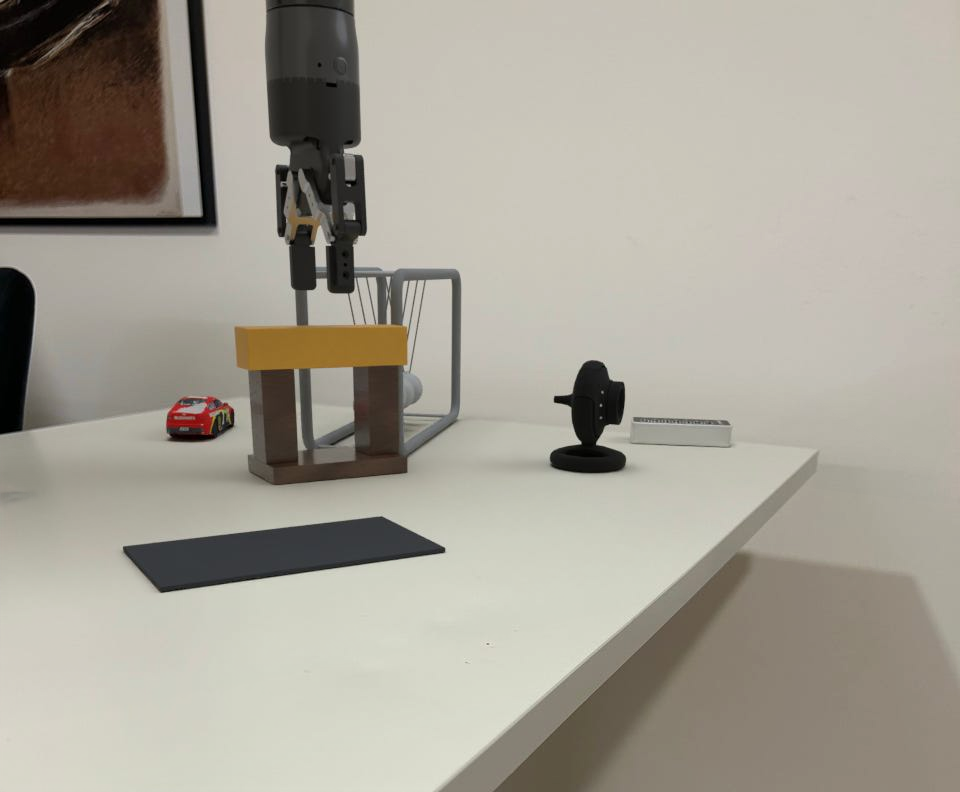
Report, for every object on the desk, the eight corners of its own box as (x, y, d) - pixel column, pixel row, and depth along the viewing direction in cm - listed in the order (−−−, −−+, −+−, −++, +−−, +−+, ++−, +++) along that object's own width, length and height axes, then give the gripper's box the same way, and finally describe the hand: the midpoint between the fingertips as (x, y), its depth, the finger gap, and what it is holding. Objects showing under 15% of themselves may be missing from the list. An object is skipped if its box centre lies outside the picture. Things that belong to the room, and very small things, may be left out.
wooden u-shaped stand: (274, 485, 85) (267, 372, 82) (248, 470, 91) (241, 364, 88) (407, 472, 92) (407, 367, 88) (375, 459, 97) (374, 360, 94)
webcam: (617, 475, 92) (625, 365, 88) (540, 469, 94) (544, 361, 91) (632, 461, 99) (640, 358, 95) (560, 455, 101) (565, 355, 98)
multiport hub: (629, 436, 114) (631, 416, 113) (726, 440, 112) (728, 420, 112) (630, 443, 109) (631, 422, 109) (730, 447, 108) (733, 425, 107)
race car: (195, 423, 117) (192, 389, 116) (240, 424, 117) (238, 390, 116) (158, 440, 105) (154, 402, 104) (209, 442, 105) (206, 403, 104)
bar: (249, 370, 83) (246, 328, 82) (236, 367, 86) (233, 326, 85) (407, 365, 90) (407, 326, 89) (391, 362, 93) (391, 324, 92)
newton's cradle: (380, 415, 126) (378, 267, 120) (460, 418, 125) (462, 268, 118) (301, 455, 99) (292, 266, 92) (402, 461, 97) (400, 268, 91)
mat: (160, 592, 57) (160, 587, 57) (123, 550, 65) (122, 546, 65) (445, 551, 67) (445, 547, 66) (382, 519, 75) (382, 516, 74)
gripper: (240, 88, 84) (253, 289, 90) (301, 61, 72) (311, 294, 78) (323, 96, 88) (330, 289, 93) (393, 72, 76) (396, 294, 82)
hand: (322, 291), depth 86 cm, fingers open, 8 cm apart
